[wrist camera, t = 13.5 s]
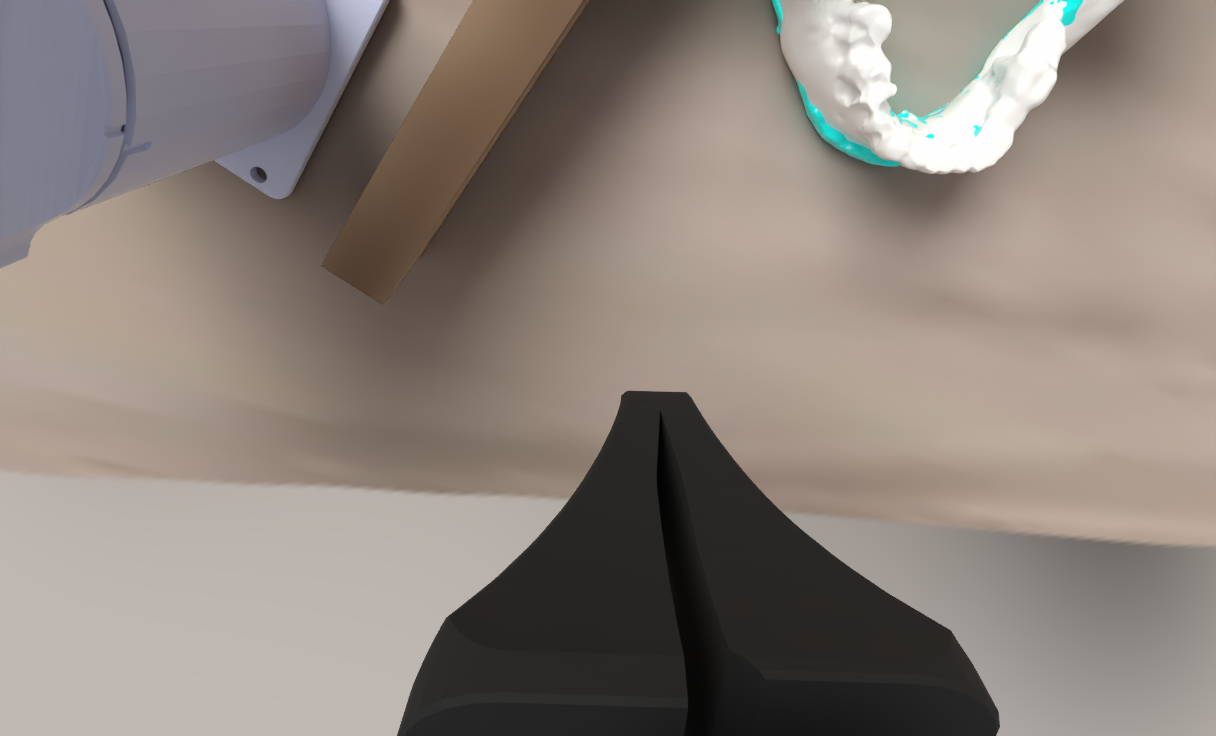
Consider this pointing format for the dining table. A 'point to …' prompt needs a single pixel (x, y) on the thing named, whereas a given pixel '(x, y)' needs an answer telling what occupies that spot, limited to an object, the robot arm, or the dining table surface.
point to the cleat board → (448, 136)
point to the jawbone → (860, 85)
